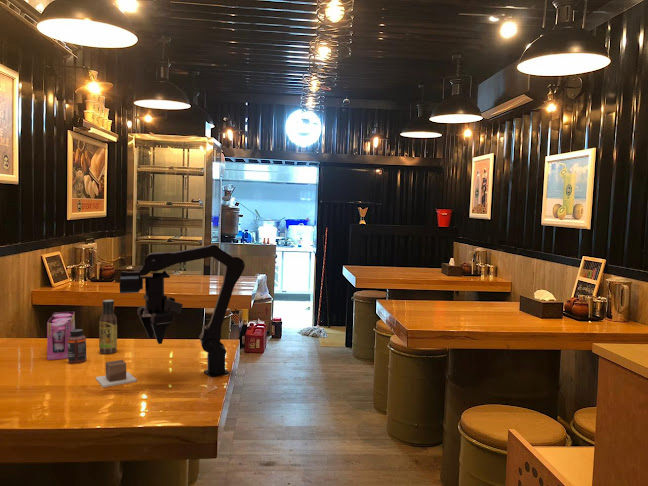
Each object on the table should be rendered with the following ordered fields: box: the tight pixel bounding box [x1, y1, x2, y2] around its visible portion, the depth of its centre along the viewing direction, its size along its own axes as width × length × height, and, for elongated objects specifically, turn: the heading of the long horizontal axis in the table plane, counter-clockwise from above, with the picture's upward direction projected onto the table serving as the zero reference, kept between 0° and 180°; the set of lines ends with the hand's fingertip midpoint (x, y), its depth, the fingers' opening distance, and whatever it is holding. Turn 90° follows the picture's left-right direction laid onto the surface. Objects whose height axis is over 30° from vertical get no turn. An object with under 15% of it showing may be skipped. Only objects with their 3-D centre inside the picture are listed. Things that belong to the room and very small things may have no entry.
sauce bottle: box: [98, 299, 118, 355], centre depth 198 cm, size 6×6×20 cm
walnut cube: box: [105, 359, 127, 382], centre depth 164 cm, size 5×5×5 cm
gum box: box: [46, 311, 76, 361], centre depth 198 cm, size 24×8×14 cm, turn 22°
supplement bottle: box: [67, 328, 87, 364], centre depth 185 cm, size 6×6×11 cm
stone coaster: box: [95, 371, 138, 388], centre depth 165 cm, size 10×10×1 cm
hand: (155, 340), depth 166 cm, fingers open, 9 cm apart
